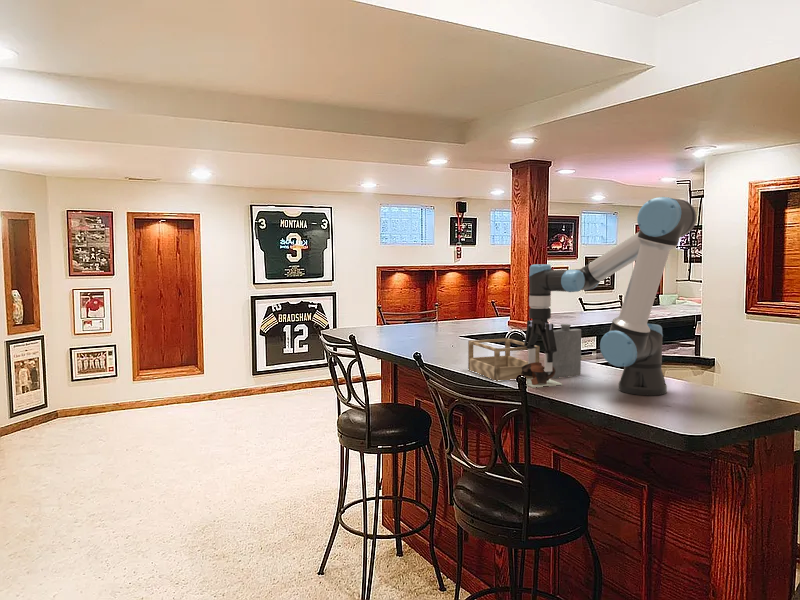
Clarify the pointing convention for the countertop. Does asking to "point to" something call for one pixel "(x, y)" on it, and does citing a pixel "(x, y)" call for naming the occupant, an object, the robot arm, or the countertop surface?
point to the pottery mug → (537, 373)
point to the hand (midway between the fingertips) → (539, 368)
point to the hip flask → (567, 352)
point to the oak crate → (498, 360)
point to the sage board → (549, 383)
